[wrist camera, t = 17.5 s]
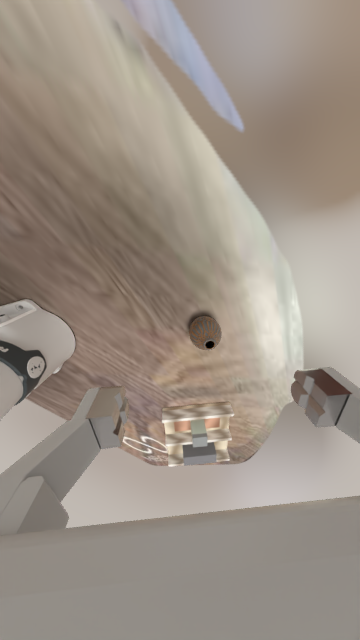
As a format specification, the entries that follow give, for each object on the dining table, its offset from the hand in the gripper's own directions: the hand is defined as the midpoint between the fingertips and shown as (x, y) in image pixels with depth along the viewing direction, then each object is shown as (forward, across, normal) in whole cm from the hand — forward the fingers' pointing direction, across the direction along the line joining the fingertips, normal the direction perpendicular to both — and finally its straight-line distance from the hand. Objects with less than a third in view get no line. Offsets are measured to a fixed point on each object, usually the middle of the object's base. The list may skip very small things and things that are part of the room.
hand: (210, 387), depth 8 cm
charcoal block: (+30, -3, +54) cm, 62 cm away
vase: (+31, -5, +12) cm, 34 cm away
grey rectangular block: (+30, -3, +44) cm, 53 cm away
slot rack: (+31, -3, +49) cm, 58 cm away
